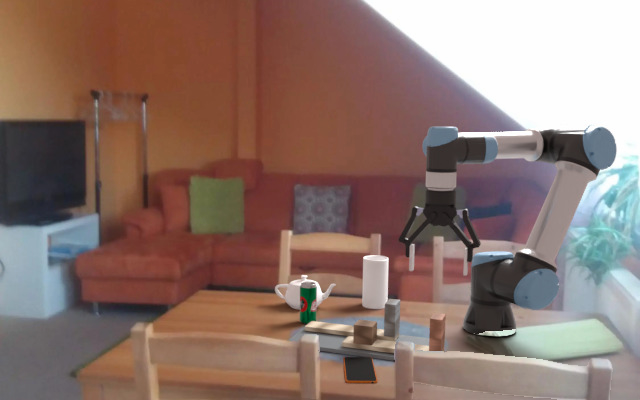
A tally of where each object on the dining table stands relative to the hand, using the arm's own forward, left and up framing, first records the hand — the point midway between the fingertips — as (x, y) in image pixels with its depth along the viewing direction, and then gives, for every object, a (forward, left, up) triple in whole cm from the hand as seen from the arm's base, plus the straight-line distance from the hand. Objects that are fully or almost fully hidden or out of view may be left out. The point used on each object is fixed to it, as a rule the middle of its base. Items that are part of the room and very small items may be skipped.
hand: (438, 272), depth 173 cm
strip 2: (+11, +1, -21) cm, 24 cm away
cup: (+28, -42, -23) cm, 56 cm away
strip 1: (+25, -8, -21) cm, 34 cm away
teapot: (+49, -33, -23) cm, 63 cm away
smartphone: (+16, +14, -23) cm, 32 cm away
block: (+19, +1, -20) cm, 27 cm away
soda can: (+42, -17, -23) cm, 51 cm away
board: (+20, -4, -23) cm, 31 cm away
